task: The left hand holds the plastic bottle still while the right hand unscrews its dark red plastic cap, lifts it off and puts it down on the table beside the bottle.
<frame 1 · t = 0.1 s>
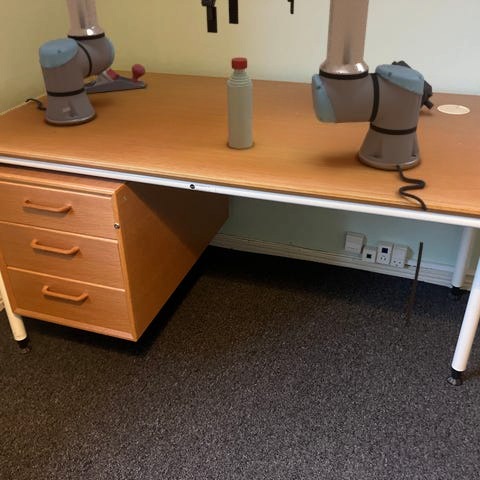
left hand: (223, 28, 149), 28 cm above the table, tool pointing down, fingers open, 13 cm apart
right hand: (313, 13, 165), 28 cm above the table, tool pointing down, fingers open, 13 cm apart
tool: (400, 109, 173), on the table
hand plane: (105, 89, 198), on the table
bottle: (240, 144, 150), on the table
cap: (239, 60, 137), point 23 cm above the table, screwed on, not yet turned
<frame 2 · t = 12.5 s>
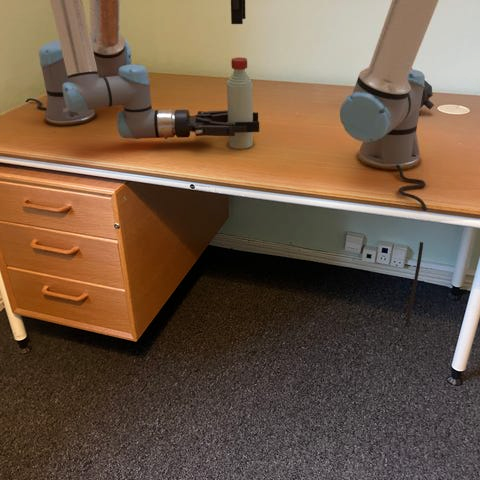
left hand: (258, 122, 146), 6 cm above the table, tool horizontal, fingers closed on bottle, 7 cm apart
right hand: (238, 21, 132), 33 cm above the table, tool pointing down, fingers open, 6 cm apart
bottle: (240, 144, 150), on the table, touching left hand
everything else where it was.
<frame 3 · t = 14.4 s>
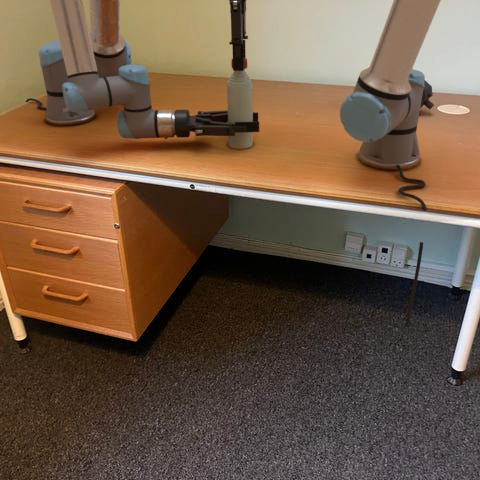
left hand: (258, 122, 146), 6 cm above the table, tool horizontal, fingers closed on bottle, 7 cm apart
right hand: (239, 67, 138), 21 cm above the table, tool pointing down, fingers closed on cap, 4 cm apart
bottle: (240, 144, 150), on the table, touching left hand
cap: (239, 60, 137), point 23 cm above the table, screwed on, not yet turned, touching right hand
everything else where it was.
when the right hand's fingers open (2 cm above the table, at t = 35.9 s): cap drops 2 cm, point 2 cm above the table.
when the left hand's fingers open (6 cm above the table, at t = 37.2 s): bottle stays where it is, on the table.
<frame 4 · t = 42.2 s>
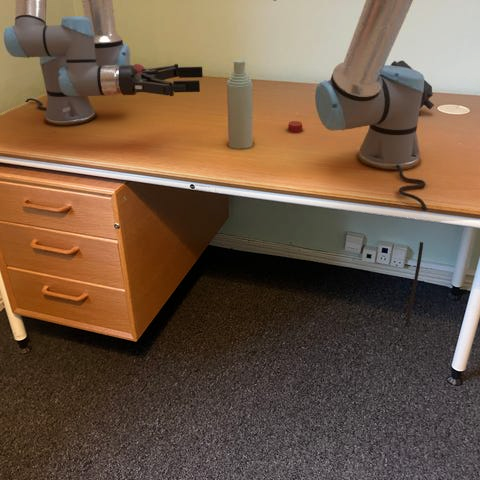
left hand: (201, 78, 140), 18 cm above the table, tool horizontal, fingers open, 13 cm apart
bottle: (240, 144, 150), on the table
cap: (295, 124, 157), point 2 cm above the table, off its thread
everything else where it was.
at the end: cap came off its thread; cap point 1.8 cm above the table; the left hand is holding nothing; the right hand is holding nothing; bottle tilted 0°; bottle moved 0.0 cm from its start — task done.
